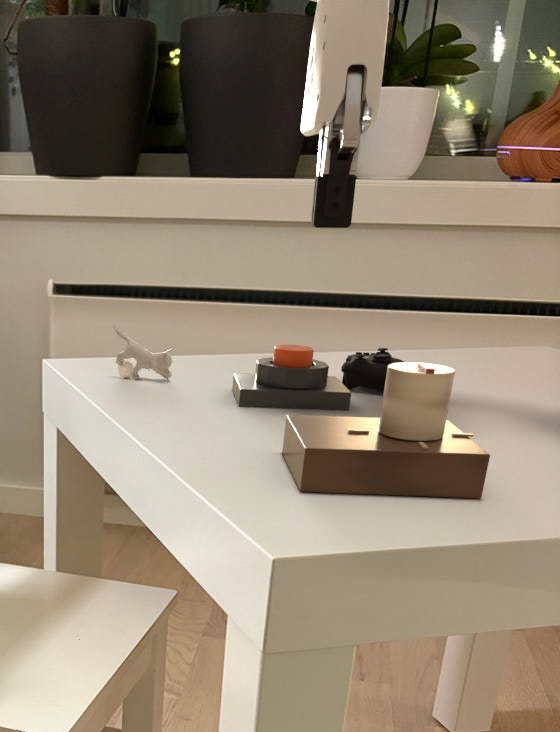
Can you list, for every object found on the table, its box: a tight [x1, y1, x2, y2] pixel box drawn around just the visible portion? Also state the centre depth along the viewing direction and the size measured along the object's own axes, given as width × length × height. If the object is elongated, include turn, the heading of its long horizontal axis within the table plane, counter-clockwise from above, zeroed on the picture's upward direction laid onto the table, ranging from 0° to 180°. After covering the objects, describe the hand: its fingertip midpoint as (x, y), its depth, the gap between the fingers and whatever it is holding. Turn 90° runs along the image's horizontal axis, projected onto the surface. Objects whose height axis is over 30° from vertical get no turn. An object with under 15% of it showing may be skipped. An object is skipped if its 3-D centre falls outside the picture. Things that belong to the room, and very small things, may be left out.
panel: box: [281, 414, 491, 499], centre depth 69 cm, size 12×10×3 cm
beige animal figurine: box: [113, 324, 176, 382], centre depth 99 cm, size 3×8×6 cm
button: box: [272, 344, 315, 367], centre depth 90 cm, size 4×4×2 cm
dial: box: [378, 361, 456, 441], centre depth 67 cm, size 4×4×5 cm
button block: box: [231, 356, 352, 412], centre depth 91 cm, size 10×8×4 cm
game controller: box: [341, 347, 406, 392], centre depth 98 cm, size 10×5×7 cm
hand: (330, 226), depth 84 cm, fingers closed
